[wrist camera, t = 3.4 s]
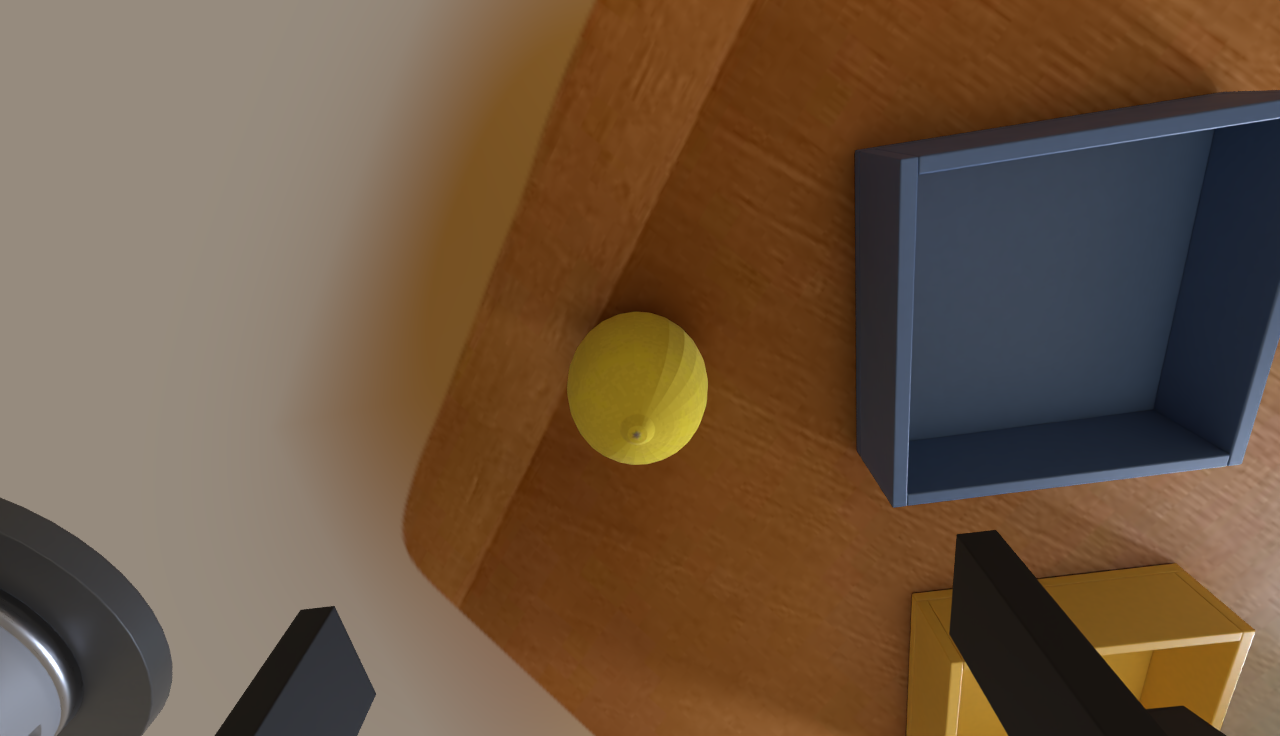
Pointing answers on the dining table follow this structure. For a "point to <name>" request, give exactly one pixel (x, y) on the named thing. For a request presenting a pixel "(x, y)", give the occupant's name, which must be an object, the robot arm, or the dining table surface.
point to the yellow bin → (1115, 626)
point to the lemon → (637, 388)
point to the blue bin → (1067, 297)
